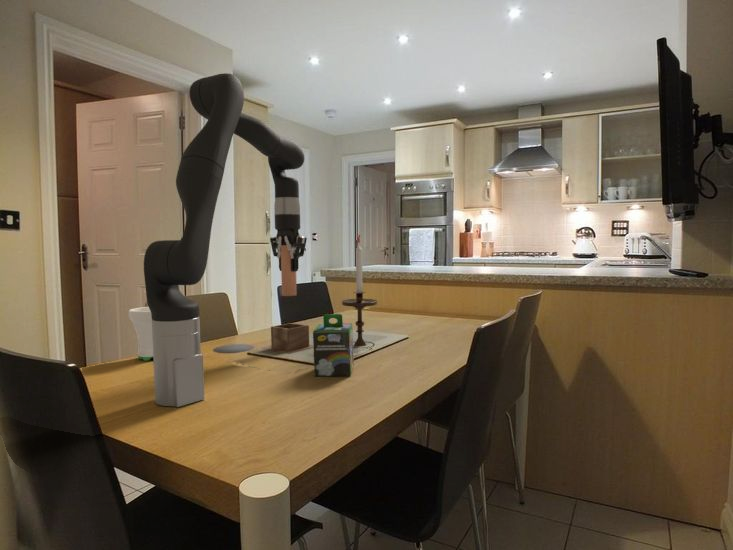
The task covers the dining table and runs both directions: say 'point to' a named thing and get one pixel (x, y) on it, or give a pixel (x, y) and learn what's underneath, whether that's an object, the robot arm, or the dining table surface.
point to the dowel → (287, 273)
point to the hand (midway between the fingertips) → (288, 270)
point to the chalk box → (333, 347)
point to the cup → (143, 331)
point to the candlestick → (359, 298)
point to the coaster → (233, 348)
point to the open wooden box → (289, 338)
